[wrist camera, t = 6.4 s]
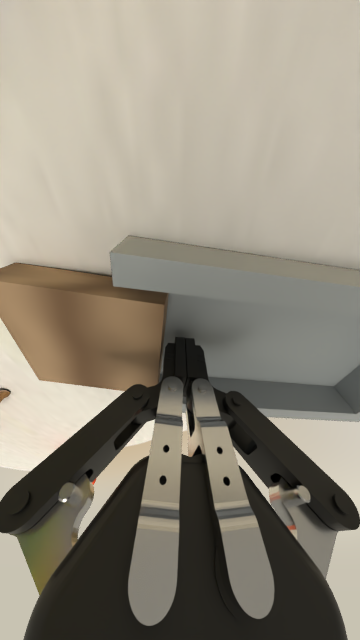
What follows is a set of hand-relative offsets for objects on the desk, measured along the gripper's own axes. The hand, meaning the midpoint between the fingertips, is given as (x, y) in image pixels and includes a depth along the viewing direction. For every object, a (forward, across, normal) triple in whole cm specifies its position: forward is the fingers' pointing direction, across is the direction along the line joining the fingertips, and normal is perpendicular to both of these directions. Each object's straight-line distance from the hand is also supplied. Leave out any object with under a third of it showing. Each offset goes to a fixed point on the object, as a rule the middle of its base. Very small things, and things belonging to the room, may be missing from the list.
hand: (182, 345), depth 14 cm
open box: (+2, -8, 0) cm, 8 cm away
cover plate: (+1, +6, 0) cm, 7 cm away
